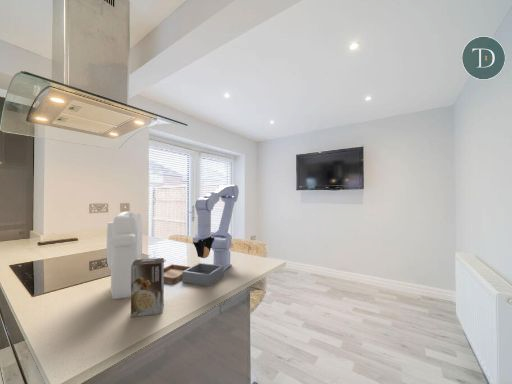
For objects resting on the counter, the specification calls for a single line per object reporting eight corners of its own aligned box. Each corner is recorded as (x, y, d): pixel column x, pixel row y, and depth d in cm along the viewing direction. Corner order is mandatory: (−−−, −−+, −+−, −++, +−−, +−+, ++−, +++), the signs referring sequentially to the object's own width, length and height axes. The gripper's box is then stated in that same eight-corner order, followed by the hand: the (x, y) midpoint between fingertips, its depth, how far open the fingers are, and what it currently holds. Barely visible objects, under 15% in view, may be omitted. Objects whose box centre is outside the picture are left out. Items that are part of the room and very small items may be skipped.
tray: (172, 269, 113) (172, 264, 113) (194, 272, 109) (194, 267, 109) (149, 279, 99) (149, 274, 99) (173, 284, 95) (173, 278, 95)
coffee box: (164, 304, 77) (165, 257, 77) (161, 314, 71) (162, 263, 71) (134, 307, 75) (135, 259, 75) (129, 318, 69) (130, 265, 69)
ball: (202, 256, 104) (202, 245, 104) (211, 257, 102) (211, 246, 102) (195, 259, 99) (195, 247, 99) (205, 260, 98) (205, 248, 98)
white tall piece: (115, 278, 100) (116, 210, 101) (143, 275, 104) (144, 210, 104) (96, 307, 75) (97, 216, 75) (134, 301, 79) (135, 215, 79)
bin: (199, 272, 109) (199, 262, 109) (223, 275, 105) (223, 265, 105) (182, 282, 97) (182, 271, 97) (208, 286, 93) (209, 275, 93)
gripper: (205, 222, 109) (204, 250, 109) (186, 226, 95) (186, 258, 95) (218, 223, 107) (217, 252, 107) (201, 227, 93) (200, 260, 93)
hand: (203, 255), depth 101 cm, fingers closed on ball, 5 cm apart
